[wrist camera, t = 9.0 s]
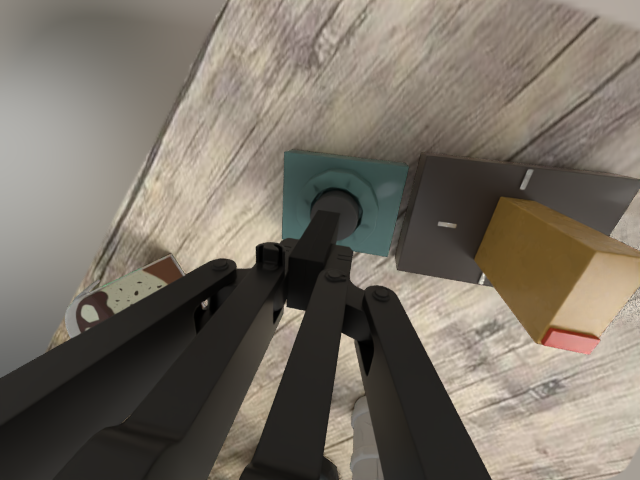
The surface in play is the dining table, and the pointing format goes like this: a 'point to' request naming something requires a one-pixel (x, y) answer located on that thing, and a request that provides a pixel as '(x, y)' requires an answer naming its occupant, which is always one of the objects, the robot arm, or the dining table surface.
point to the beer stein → (328, 470)
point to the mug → (364, 445)
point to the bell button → (339, 211)
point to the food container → (119, 294)
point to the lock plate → (494, 207)
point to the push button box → (352, 178)
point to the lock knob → (557, 273)
